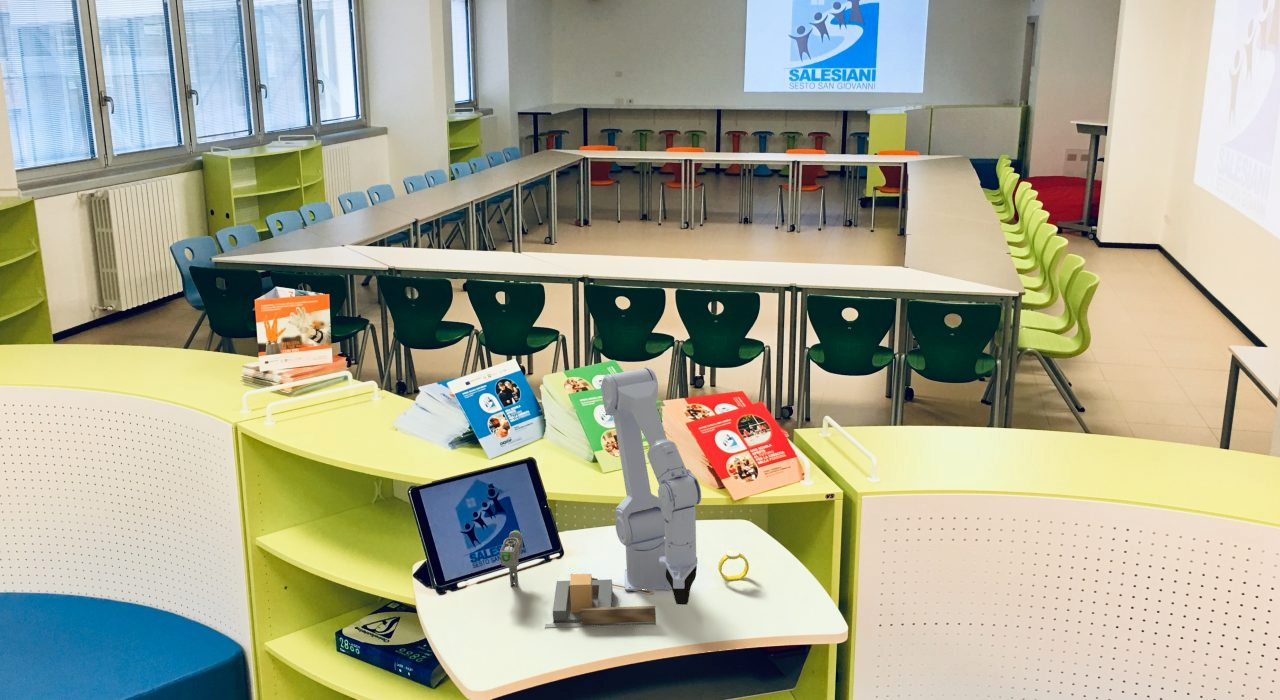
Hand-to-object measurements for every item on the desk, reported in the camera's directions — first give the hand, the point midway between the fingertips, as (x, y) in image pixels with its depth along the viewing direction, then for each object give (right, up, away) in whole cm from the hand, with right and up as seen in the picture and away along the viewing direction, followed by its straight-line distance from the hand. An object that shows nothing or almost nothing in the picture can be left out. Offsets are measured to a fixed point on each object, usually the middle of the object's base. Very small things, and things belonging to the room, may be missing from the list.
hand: (682, 602), depth 205 cm
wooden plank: (-12, -4, +1) cm, 13 cm away
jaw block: (-19, -2, +7) cm, 20 cm away
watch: (+11, +1, +16) cm, 20 cm away
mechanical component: (-33, 0, +16) cm, 37 cm away
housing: (-15, -3, +7) cm, 17 cm away
